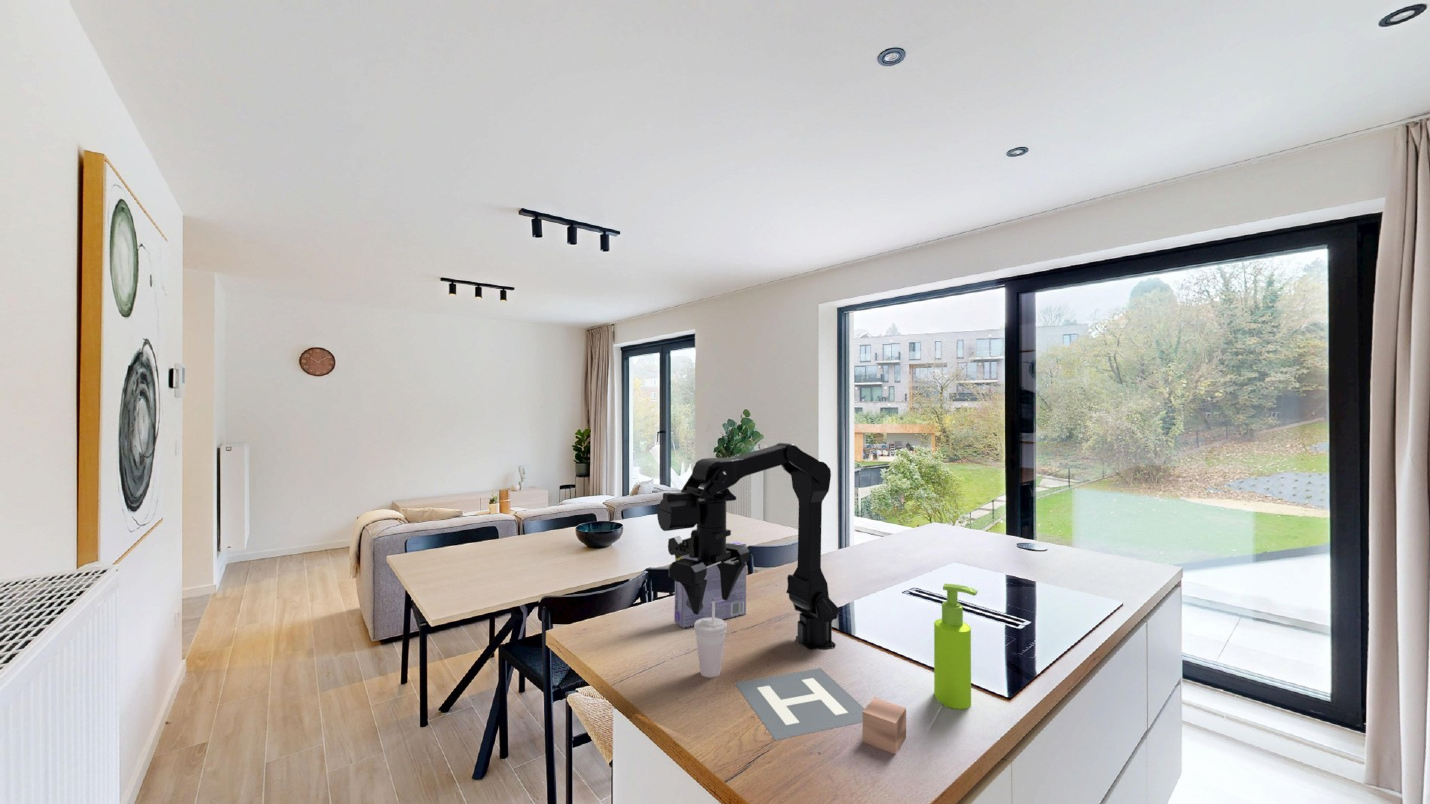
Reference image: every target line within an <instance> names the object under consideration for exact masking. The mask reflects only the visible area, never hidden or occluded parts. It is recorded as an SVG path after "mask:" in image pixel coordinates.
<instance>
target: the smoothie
mask: <svg viewBox="0 0 1430 804" xmlns="http://www.w3.org/2000/svg"><path fill="white" fill-rule="evenodd" d="M727 625H728V623H727V622H726V621H725V619H724V620H722V619H719V618H715V601H712V618H702V619H699V620H697V621H696V622H695V623H694V626H693V630H694V632H695V636H696V637H695V638H696V646H697V654H698V662H699V670H700V671H699V672H700V675H701V676H703V677H704V678H715V677H719V675H720V674H721V667H722V661H723V654H724V653H723V652H724V643H725V636H726V632H727V630H728V626H727Z"/></svg>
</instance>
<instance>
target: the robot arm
mask: <svg viewBox="0 0 1430 804" xmlns="http://www.w3.org/2000/svg"><path fill="white" fill-rule="evenodd" d="M779 466H781V468H782V469H783V470H784V471H785V472H786V473H787V474H789V476H790V477H791V485H792V490H793V492H794V493H795V496H796V498H797V501H798V518H797V519H798V523H797V527H798V528H797V529H798V530H797V533H798V534H797V535H798V536H797V540H798V541H797V567H796V569H795V570H794V572H793V574H788V575H787V579H786V580H787V589H786V594H788V598H789V599H788V600H789V601H791V604H792V605H793V608H794V610H795V611H796V612H799V617H798V618H799V620H798V621H797V635H796V636H795V639H796V640H797V641H798V642H799V643H800V644H801V645H803V646H804V647H805V648H806V649H808V650H810V651H811V650H812V651H813V650H817V649H818V650H823V649H829V648H835V647H836V646H837V645H836V643H835V642H834V641H832V637H833V636H832V633H833V632H832V630H833V629H832V628H833V627H832V623H833V621H834V620H837V618H838V615H839V613H840V612H839V611H840V609H839V607H838V606H837V605H836V603H834V602H833V601H832V600H831V598H830V596H829V595H830V594H829V587H828V581H827V579H826V577H825V575H824V573H823V571H822V568H821V567H822V564H821V563H822V519H823V518H822V513H823V512H822V511H823V510H822V509H823V508H822V507H823V501H824V500H825V497H826V496H827V494H829V493H828V492H829V490H830V487H831V486H830V485H831V477H832V472H831V468H830V466H829V465H827V463H826V462H823V461H819V460H818V459H817V458H815V457H813V456H812V455H810V454H808V453H806V452H805V451H803V450H801V448H799V447H798V446H797V445H796V444H793V443H786V442H778V443H776V444H774V445H772V446H768V447H765V448H761V449H757V450H754V451H751V452H747V453H743V454H739V455H737V456H733V457H710V458H709V457H708V458H701V459H698V460H697V461H696V462H695V464H694V466H693V469H692V473H691V474H690V476H689V478H688V479H687V481H686V482H685V484H684V486H683V487H682V488H681V491H680V492H663V493H662V499H661V501H660V502H659V503H658V504H659V505H658V508H657V509H656V511H657V512H656V514H657V515H656V516H657V522H658V525H659V528H660V529H661V530H662V531H664V532H666V531H667V532H669V531H676V530H684V529H685V530H686V529H692V530H691V532H690V537H688V538H685V539H682V538H681V536H680V535H678V536H674V537H670V538H668V543H667V550H668V553H669V555H671V556H674V557H675V558H676V559H677V558H680V557H681V556H685V555H689V557H690V558H697V560H698V561H695V560H690V559H686V558H684V559H681V560H678V561H675V560H674V561H672V562H671V564H670V565H668V578H669V579H671V580H674V582H675V581H676V582H680V583H681V584H682V585H683V587H684V589H685V591H686V593H687V596H688V599H689V602H690V605H691V608H692V611H693V613H694V614H697V615H698V614H699V612H700V609H701V605H702V601H703V597H704V593H705V589H706V584H707V580H705V577H706V575H707V568H710V567H712V566H715V565H717V567H718V568H719V570H720V579H721V593H722V599H723V600H728V598H729V596H730V594H731V592H732V589H733V587H734V585H735V583H736V581H737V579H738V577H739V575H740V573H741V571H742V570H743V568H744V567H745V566H746V567H747V562H750V561H751V560H750V557H751V556H750V550H749V549H748V546H747V547H746V546H741V545H736V544H730V542H727V538H728V537H730V536H731V535H732V530H731V529H727V502H731V501H732V502H734V501H736V500H737V496H735V495H734V494H733V493H732V492H731V490H730V488H731V487H733V486H734V485H736V484H737V483H738V482H739V481H740V480H741V479H743V478H745V477H746V476H750V475H753V474H757V473H760V472H764V471H766V470H770V469H773V468H776V467H779ZM695 526H696V529H693V528H695ZM726 543H727V544H726ZM745 562H746V563H745Z"/></svg>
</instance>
